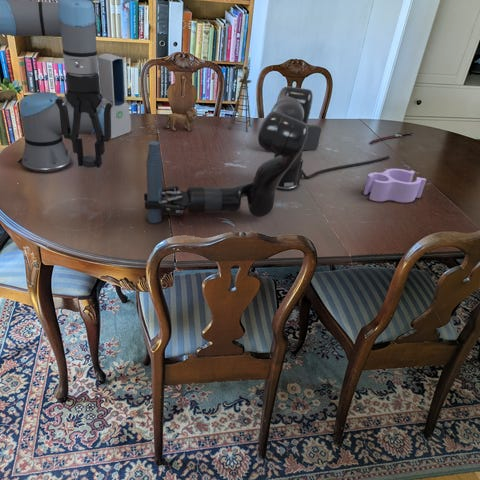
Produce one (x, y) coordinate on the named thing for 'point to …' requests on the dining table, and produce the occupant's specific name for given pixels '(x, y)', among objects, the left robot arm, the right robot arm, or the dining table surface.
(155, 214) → the bottle
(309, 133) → the handheld gaming console
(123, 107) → the electronic device
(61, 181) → the dining table surface
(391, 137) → the sword
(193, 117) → the lion figurine
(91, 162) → the cap
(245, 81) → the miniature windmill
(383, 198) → the clip
